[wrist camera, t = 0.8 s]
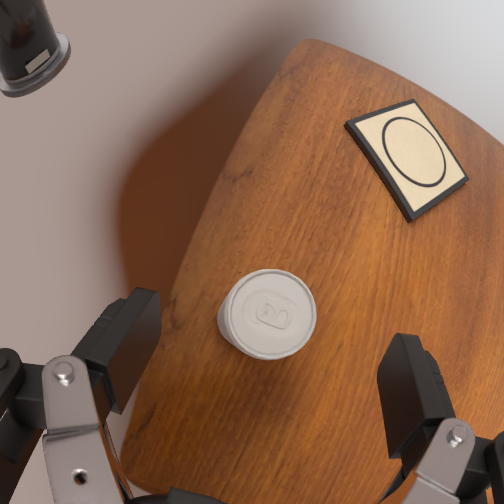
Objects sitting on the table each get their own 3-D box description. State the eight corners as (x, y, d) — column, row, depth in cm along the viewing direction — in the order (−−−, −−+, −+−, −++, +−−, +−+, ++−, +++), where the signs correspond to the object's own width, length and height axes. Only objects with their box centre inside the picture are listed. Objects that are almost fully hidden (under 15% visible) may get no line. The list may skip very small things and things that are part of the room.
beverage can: (228, 283, 28) (245, 251, 16) (280, 303, 28) (331, 286, 17) (208, 335, 27) (209, 342, 15) (261, 354, 27) (300, 374, 15)
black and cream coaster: (343, 125, 34) (347, 119, 33) (410, 102, 37) (414, 97, 36) (408, 223, 32) (414, 219, 31) (464, 182, 35) (470, 178, 34)
